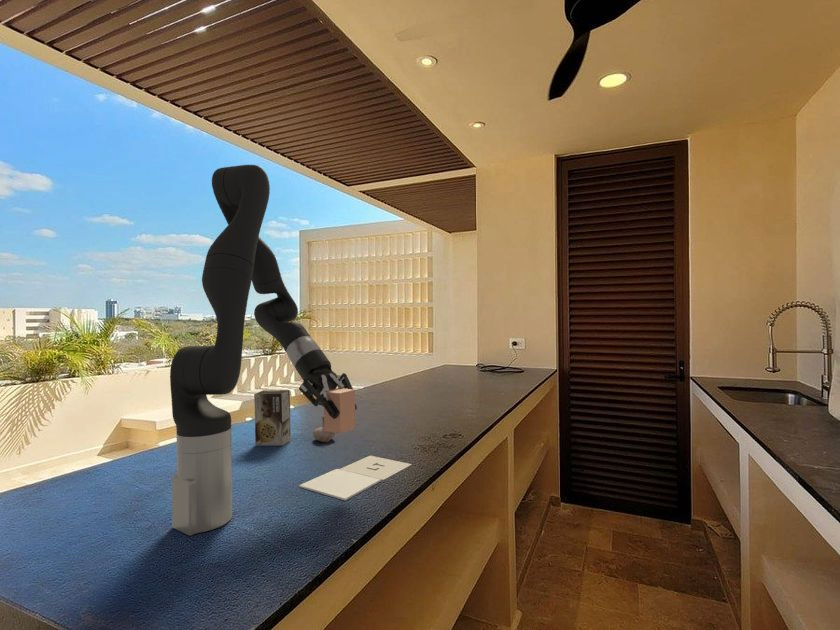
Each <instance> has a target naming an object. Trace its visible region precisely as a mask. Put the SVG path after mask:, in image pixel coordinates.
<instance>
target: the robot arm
mask: <svg viewBox="0 0 840 630" xmlns="http://www.w3.org/2000/svg"><path fill="white" fill-rule="evenodd" d="M270 186H271V185H270V179H269V177H268V173H266V170H264V168H263V167H262V166H260V165H259V164H258V165H257V164H240V165H239V164H238V165H234V166H233V165H232V166H226V167H225V166H224V167H220V168H217V169H216V170H214V171H213V173H212V177H211V187H212V191H213V194H214V197H215V199H216V202H217V204H218V206H219V209H220V210H221V213H222V215H223V216H224V219H225V220H226V224H227V226H226V227H225V228H224V229H223V231H221V233H220V234H219V235H218V236H217V237H216V238H215V239H214V240H213V242H212V243H211V245H210V247H209V249H208V250H207V252H206V253H207V254H206V257H205V261H204V265H203V270H202V275H201V283H202V288H203V291H204V293H205V296H206V299H207V300H208V301H209V304H210V306H211V308H212V310H213V312H214V314H215V318H216V325H217V327H216V328H217V330H216V337H215V342H214V345H194V346H193V345H190V346H184V347H182V348H180V349H179V350H178V351H177V352H176V353H175V355H174V356H173V358H172V362H171V363H170V371H169V373H170V374H169V375H170V376H169V381H170V382H169V384H170V385H169V386H170V396H171V411H172V419H173V422H174V425H175V428H176V474H173V475H172V477H171V501H172V502H171V513H172V514H171V522H172V523H171V527H172V528H173V529H175V530H177V531H179V532H181V533H183V534H184V535H187V536H193V535H195V534H201V533H205V532H208V531H212V530H216V529H218V528H221V527H222V526H224V525H226V524H227V523H229V522H230V520H231V519H232V517H233V481H232V480H233V476H232V475H233V471H232V470H233V469H232V468H233V467H232V465H233V464H232V459H233V458H232V454H233V453H232V449H233V448H232V417H231V413H230V412H229V411H227V410H225V409H223V408H220V407H218V406H216V405H215V404H213V403H212V402H211V401H210V400H209V398H208V396H212V395H213V396H217V395H221V396H222V395H227V394H230V393H231V392H233V391H234V389H235V388H236V386H237V383H238V382H239V378H240V375H241V374H240V373H241V367H242V360H243V358H242V357H243V343H244V330H245V319H246V312H247V306H248V300H249V295H250V290H251V286H252V285H253V289H254V291H255V292H256V293H257V294H260V295H269V294H275V295H276V296H277V297H275V298H272V299H269V300H267V301H264V302H261V303H258V304H257V305H256V306H255V308H254V312H253V313H254V314H253V316H254V319H255V321H256V323H257V324H258V325H259V327H260V328H262V329H263V330H264V331H265V332H267V333H268V334H269V335H271V336H272V337H273V338H274V339H275V340H276V341H277V342H278V343H279V344H280V346H281V347H282V348H283V350H284V352H285V353H286V355H287V357H288V359H289V361H290V362H291V365H292V366H293V367H294V369H295V370H296V372H297V373H298V375H299V376H300V377H301V379H302V380H303V382H302V383H301V385H300V386H299V387H298V390H299V391H300V392H301V394H303V395H304V396H305V398H307V400H308V401H309V402H310V403H311V404H312V405H313V406H314V407H318V406H321V407H323V409H324V408H325V409H326V411H327V412H328V414H329V415H330V416H331V417H332V418H333V419H335V418H337V417H338V416H339V414H340V412H339V410H338V409H337V407H336V406H335V404H334V403H333V401H332V400H331V401H330V396H329V395H328V393H327V392H329V390H332V389H337V388H338V389H342V388H343V389H352V390H354V388H353V385H352V384H351V382H350V380H349V378H348V375H347V374H346V373H344V372H343V373H342V374H341V375H339V374H336V373H335V372H334V371H333V370H332V362H331V361H330V360H329V358H328V357H327V355H326V354H325V353H324V352H323V350H322V349H321V347H320V346H319V344H318V343H317V342H316V341H315V340H314V339H313V338H312V336H311V335H310V333H309V332H308V331H307V329H306V328H305V326H304V325H303V324H302V323H301V322H298V321H294V320H296V318H297V317H298V311H299V309H298V306H297V303H296V301H295V300H294V299H293V297H292V296H291V294H290V292H289V291H288V289H287V287H286V286H285V283H284V281H283V278H282V274H281V271H280V267H279V263H278V260H277V258H276V255H275V254H274V252H273V250H272V248H270V246H269V245H268V244H267V243H266V242H265V241H264V240H263V239H262V238H261V236H260V232H261V228H262V225H263V221H264V219H265V218H264V217H265V215H266V211H267V208H268V203H269V198H270V191H271V190H270V189H271V188H270ZM357 409H358V407H357V404H356V403H355V412H356V411H357Z"/></svg>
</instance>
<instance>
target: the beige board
mask: <svg viewBox="0 0 840 630" xmlns="http://www.w3.org/2000/svg"><path fill="white" fill-rule="evenodd" d="M380 482H382V479H378V478H374V477H370V476H366V475H361V474H357V473H353V472H349V471H345V470H341V468H335V469H333V470H331V471H329V472H327V473H324V474H322V475H320V476H317V477H315V478H312V479H311V480H308V481H306V482H303V483H301V484H299V486H298V487H299V488H300V489H304V490H308V491H311V492H315V493H318V494H321V495H325V496H328V497H331V498H335V499H338V500H342V501H348V500H349V499H352V498H354V497H355V496H356V495H358V494H360V493H362V492H364V491H366V490H368V489H369V488H371V487H373V486H375V485H377V484H379V483H380Z"/></svg>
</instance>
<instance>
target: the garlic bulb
mask: <svg viewBox="0 0 840 630" xmlns="http://www.w3.org/2000/svg"><path fill="white" fill-rule="evenodd" d="M321 418H322V419H321V420H322V426H320V427H318V428H315V429H314V430H313V436H312V437H313V438H314V439H315V440H316V441H318V442H321V443H329V442H330V441H331V440H332V439H333V438H334V437H335V436H336V433H333V432H328V431H324V415H322V416H321Z"/></svg>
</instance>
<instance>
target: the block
mask: <svg viewBox="0 0 840 630" xmlns="http://www.w3.org/2000/svg"><path fill="white" fill-rule="evenodd" d="M327 393H328V395H329V396H330V401H331V400H332V401H333V403H334V404H335V406H336V407H337V409H338V410H339V412H340V414H339V416H338V417H337V418H335V419H333V418H332V417H331V416H330V415H329V414H328V412H327V411H326V409H325V408H324V407H323V416H324V431H328V432H333V433H335V434H338V435H341V434H344V433H347V432H349V431H353V430H355V429H356V411H355V404H356V391H355V389H353V390H352V389H348V388H347V389H343V388H342V389H338V387H336V389H332V390H329V392H327Z"/></svg>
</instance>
